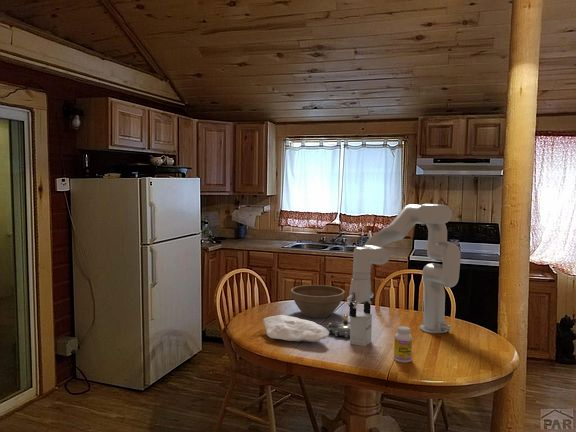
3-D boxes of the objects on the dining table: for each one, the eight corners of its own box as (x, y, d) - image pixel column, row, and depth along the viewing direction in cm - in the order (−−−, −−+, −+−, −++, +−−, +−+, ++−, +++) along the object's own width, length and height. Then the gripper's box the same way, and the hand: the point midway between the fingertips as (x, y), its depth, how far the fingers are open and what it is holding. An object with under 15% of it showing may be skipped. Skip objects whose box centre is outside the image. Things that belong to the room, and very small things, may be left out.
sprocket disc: (364, 325, 226) (364, 313, 226) (366, 338, 209) (367, 324, 208) (326, 324, 228) (326, 312, 228) (326, 336, 210) (326, 323, 210)
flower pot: (316, 304, 269) (316, 281, 268) (355, 315, 248) (355, 290, 247) (279, 313, 250) (279, 289, 249) (318, 325, 229) (318, 299, 228)
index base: (353, 332, 218) (353, 330, 218) (346, 335, 215) (346, 333, 215) (330, 325, 229) (330, 323, 229) (323, 327, 225) (323, 325, 225)
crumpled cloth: (282, 321, 231) (281, 303, 229) (344, 335, 210) (343, 315, 208) (251, 341, 213) (248, 322, 211) (315, 358, 192) (313, 337, 190)
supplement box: (365, 347, 200) (365, 317, 199) (349, 343, 204) (349, 315, 203) (371, 342, 206) (372, 313, 205) (356, 339, 210) (356, 311, 209)
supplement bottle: (396, 363, 182) (396, 330, 181) (392, 356, 188) (393, 325, 187) (413, 363, 182) (414, 330, 181) (409, 356, 188) (409, 325, 187)
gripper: (366, 272, 212) (365, 310, 213) (341, 276, 200) (340, 316, 201) (380, 275, 206) (379, 313, 207) (355, 279, 194) (354, 320, 195)
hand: (359, 314), depth 204 cm, fingers open, 9 cm apart
